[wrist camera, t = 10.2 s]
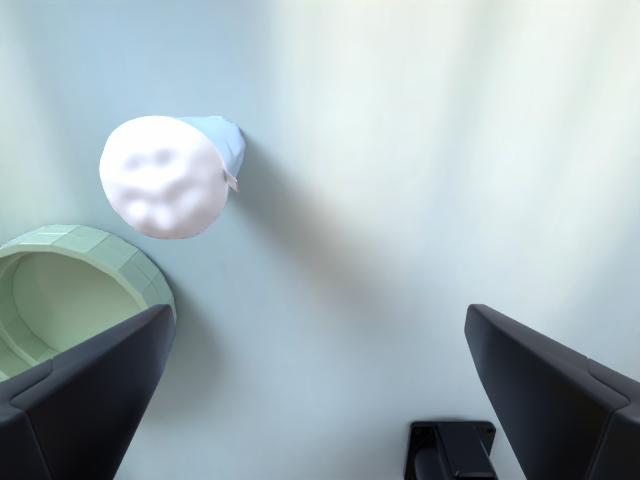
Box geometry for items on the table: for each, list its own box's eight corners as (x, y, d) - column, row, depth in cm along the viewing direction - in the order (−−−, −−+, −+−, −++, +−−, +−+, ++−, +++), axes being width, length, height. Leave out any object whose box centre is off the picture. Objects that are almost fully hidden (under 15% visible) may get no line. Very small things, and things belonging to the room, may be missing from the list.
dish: (187, 372, 28) (171, 406, 25) (27, 371, 28) (-7, 406, 25) (164, 223, 23) (142, 244, 20) (-26, 221, 23) (-76, 242, 20)
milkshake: (277, 180, 22) (249, 252, 13) (186, 189, 22) (95, 266, 13) (265, 96, 21) (224, 112, 11) (166, 107, 21) (46, 130, 11)
